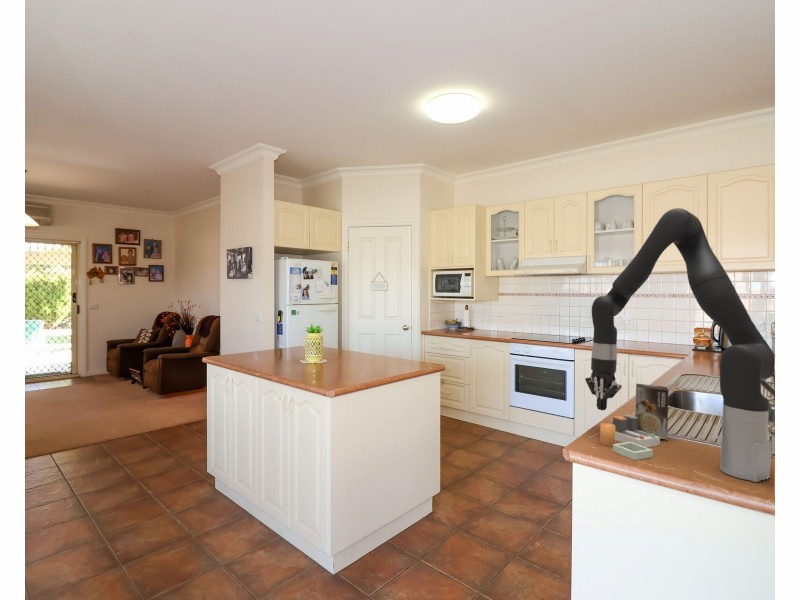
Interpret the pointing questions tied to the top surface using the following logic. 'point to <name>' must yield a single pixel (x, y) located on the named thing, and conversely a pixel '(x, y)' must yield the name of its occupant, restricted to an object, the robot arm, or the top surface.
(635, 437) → the box
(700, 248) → the robot arm
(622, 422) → the tagged breaker
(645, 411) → the coffee box
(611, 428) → the cap
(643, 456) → the pale green square frame
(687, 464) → the top surface
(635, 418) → the block
